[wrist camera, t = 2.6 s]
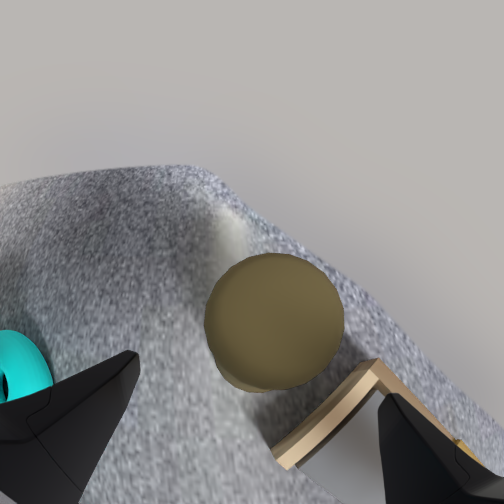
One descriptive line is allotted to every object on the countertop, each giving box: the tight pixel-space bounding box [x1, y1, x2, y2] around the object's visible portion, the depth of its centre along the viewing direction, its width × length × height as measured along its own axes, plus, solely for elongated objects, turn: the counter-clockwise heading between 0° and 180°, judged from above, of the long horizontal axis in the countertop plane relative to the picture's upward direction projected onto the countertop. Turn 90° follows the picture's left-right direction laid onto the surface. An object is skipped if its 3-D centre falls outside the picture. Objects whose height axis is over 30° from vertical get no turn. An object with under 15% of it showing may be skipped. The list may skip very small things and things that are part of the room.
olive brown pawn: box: [204, 253, 344, 393], centre depth 13 cm, size 6×6×11 cm
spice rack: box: [270, 358, 484, 504], centre depth 12 cm, size 9×20×4 cm, turn 42°
